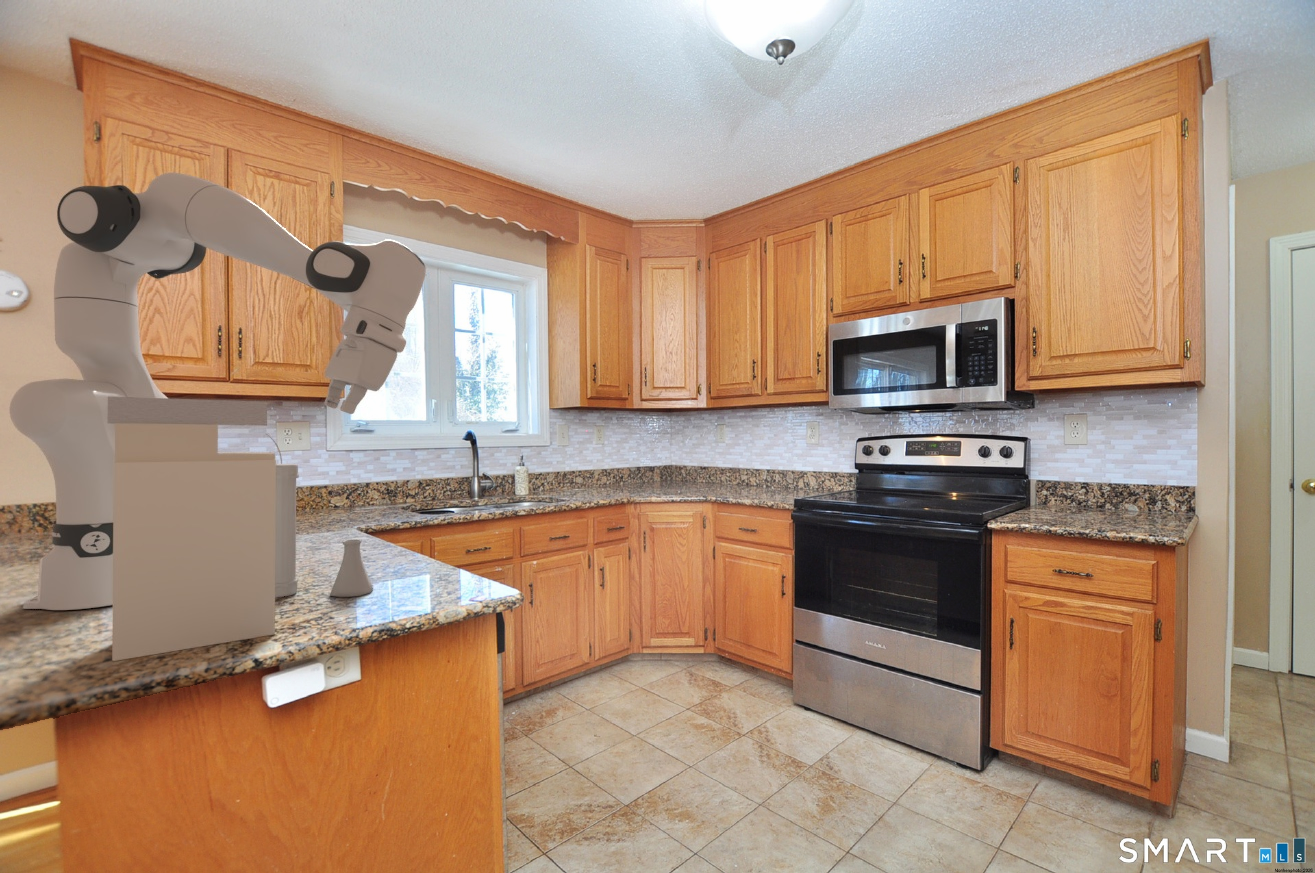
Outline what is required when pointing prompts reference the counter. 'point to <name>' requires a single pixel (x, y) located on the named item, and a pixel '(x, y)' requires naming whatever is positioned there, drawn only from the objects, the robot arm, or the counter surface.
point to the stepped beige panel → (190, 540)
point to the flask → (351, 572)
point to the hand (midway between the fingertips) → (337, 409)
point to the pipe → (285, 529)
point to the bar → (186, 411)
